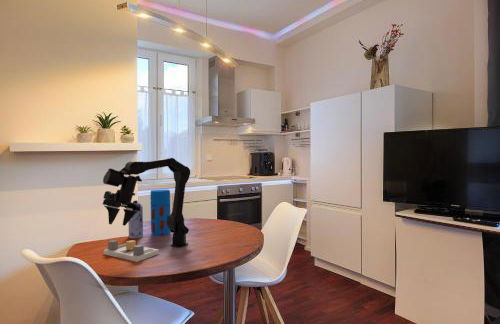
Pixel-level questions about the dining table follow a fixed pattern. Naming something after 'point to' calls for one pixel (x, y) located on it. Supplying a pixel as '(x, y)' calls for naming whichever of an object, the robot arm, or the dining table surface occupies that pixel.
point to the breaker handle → (130, 244)
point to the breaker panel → (129, 251)
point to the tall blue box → (160, 212)
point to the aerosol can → (136, 223)
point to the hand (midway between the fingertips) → (117, 224)
